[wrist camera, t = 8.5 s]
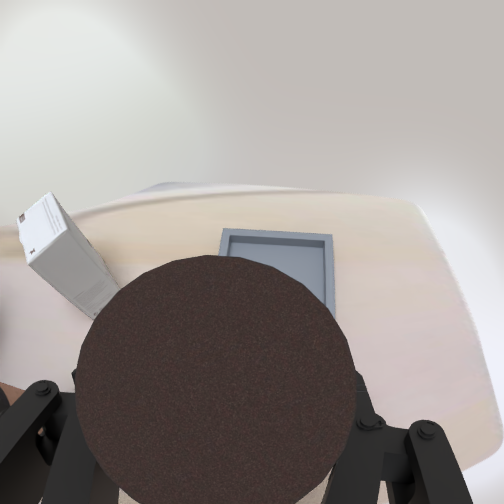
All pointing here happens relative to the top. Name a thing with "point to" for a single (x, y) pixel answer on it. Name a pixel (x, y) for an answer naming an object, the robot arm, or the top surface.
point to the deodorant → (215, 385)
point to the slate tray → (288, 256)
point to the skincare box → (65, 256)
